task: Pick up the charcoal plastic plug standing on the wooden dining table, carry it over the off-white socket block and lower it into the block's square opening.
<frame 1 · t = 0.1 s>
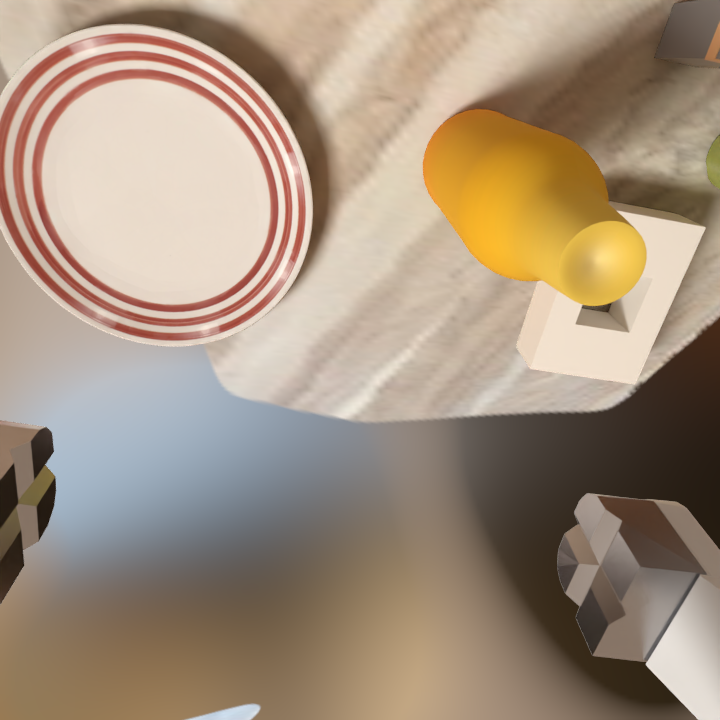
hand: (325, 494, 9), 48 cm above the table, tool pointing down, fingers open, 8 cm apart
socket block: (592, 283, 59), on the table
beer bottle: (471, 162, 54), on the table
plug: (686, 36, 50), on the table
dinner plate: (163, 198, 54), on the table
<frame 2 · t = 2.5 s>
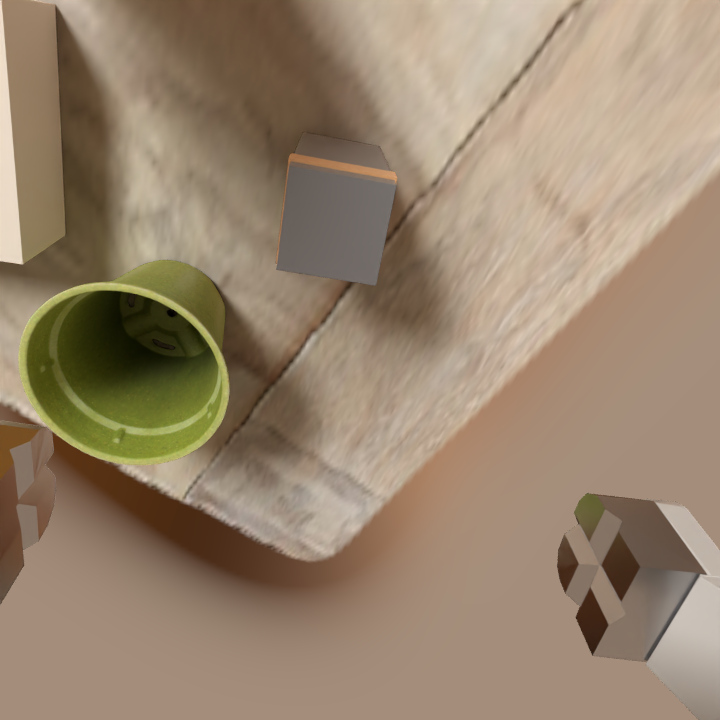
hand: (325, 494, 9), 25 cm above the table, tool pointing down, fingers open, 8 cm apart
plant pot: (172, 307, 35), on the table
plug: (335, 178, 32), on the table
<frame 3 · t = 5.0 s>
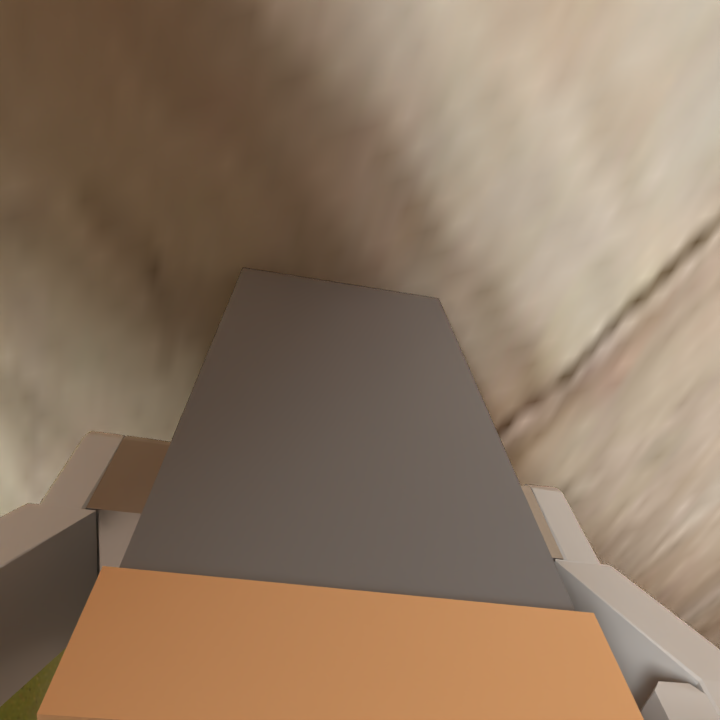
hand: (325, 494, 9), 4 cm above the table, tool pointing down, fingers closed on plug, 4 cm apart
plug: (327, 369, 13), on the table, touching gripper
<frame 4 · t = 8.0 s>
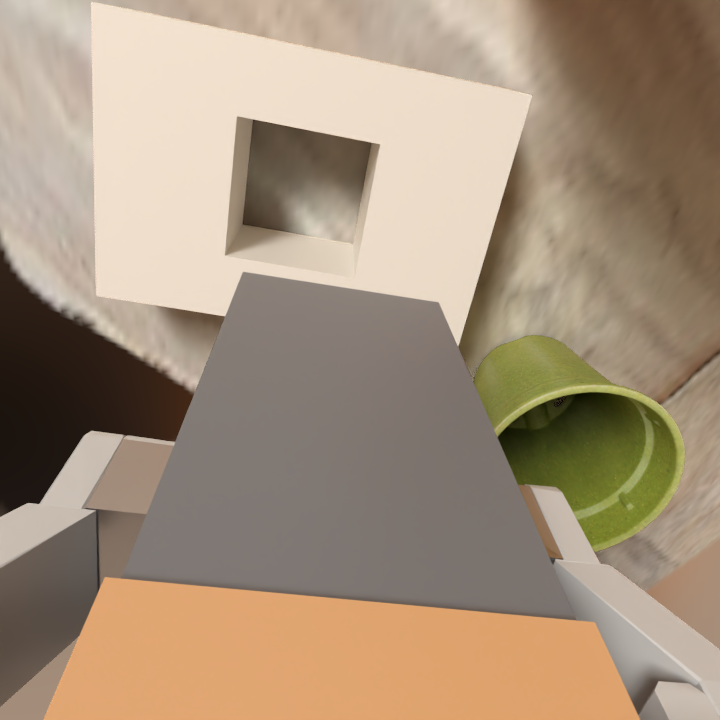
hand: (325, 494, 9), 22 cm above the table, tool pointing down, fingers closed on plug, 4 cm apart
plant pot: (523, 379, 34), on the table
socket block: (306, 178, 28), on the table
plug: (327, 373, 13), point 18 cm above the table, touching gripper
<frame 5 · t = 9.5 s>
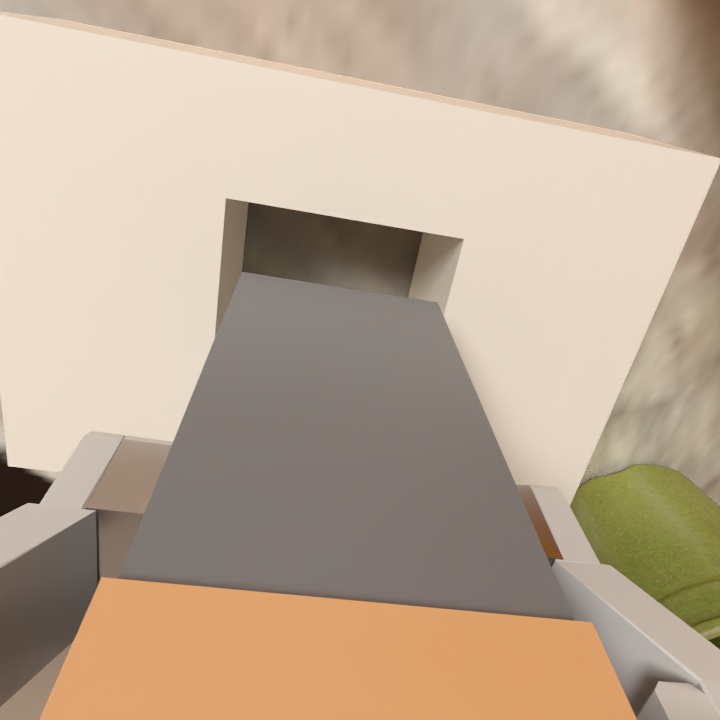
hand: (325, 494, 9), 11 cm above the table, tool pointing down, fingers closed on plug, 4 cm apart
plant pot: (620, 516, 25), on the table
socket block: (329, 264, 19), on the table
plug: (326, 373, 13), point 7 cm above the table, touching gripper
when the fingers open (7 cm above the table, at t = 10.9 s): plug drops 3 cm, resting in socket block.
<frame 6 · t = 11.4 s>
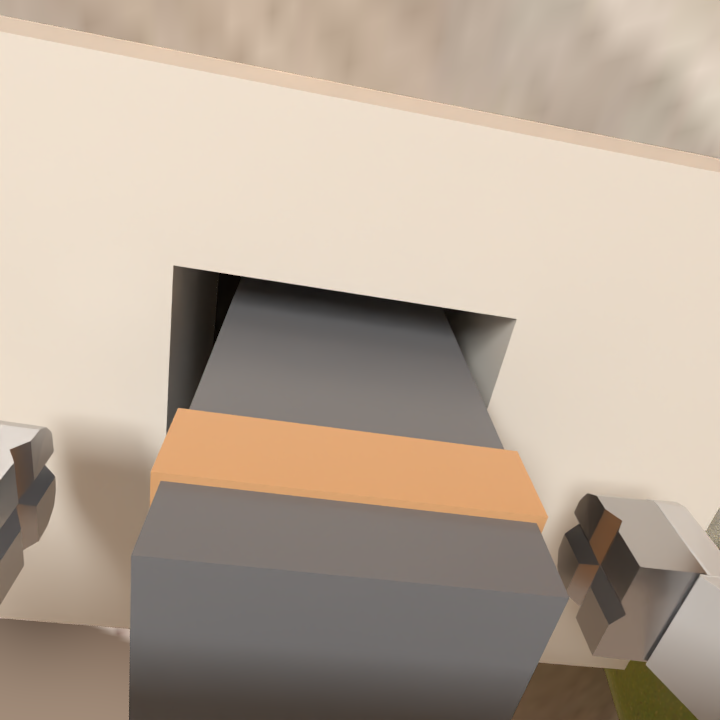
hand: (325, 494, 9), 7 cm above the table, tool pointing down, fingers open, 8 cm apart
plant pot: (675, 608, 21), on the table
socket block: (326, 323, 15), on the table
plug: (328, 325, 15), resting in socket block
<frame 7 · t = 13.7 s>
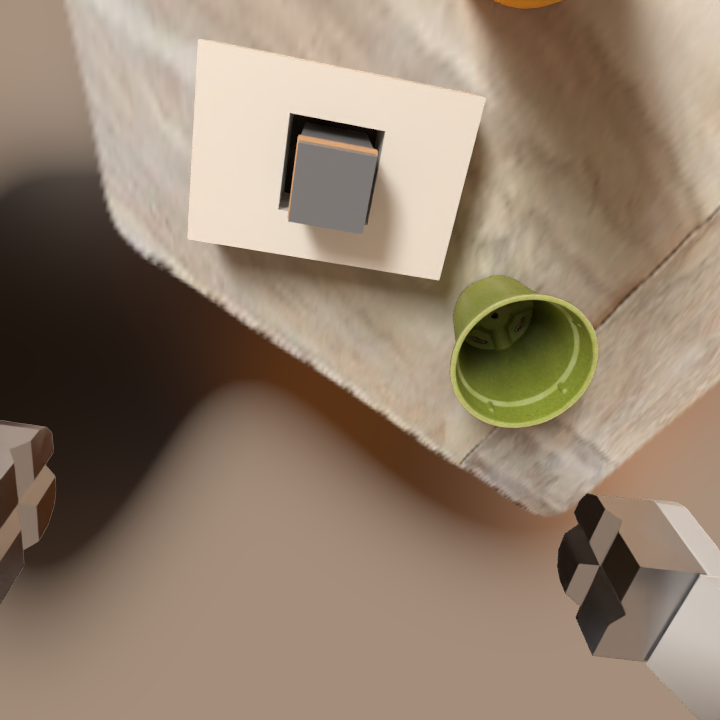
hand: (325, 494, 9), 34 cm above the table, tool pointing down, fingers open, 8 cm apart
plant pot: (490, 311, 45), on the table
socket block: (330, 158, 39), on the table
plug: (331, 159, 40), resting in socket block
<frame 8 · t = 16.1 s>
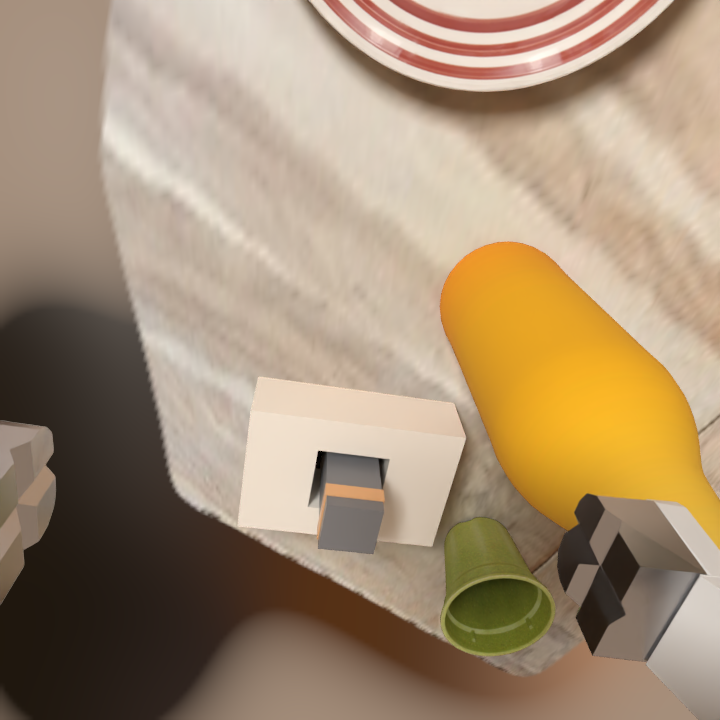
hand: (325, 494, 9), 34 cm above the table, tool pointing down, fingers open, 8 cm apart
plant pot: (474, 538, 56), on the table
socket block: (346, 445, 50), on the table
beer bottle: (497, 297, 45), on the table
plug: (347, 446, 50), resting in socket block
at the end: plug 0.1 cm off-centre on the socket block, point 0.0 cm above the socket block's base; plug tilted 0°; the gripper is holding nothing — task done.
